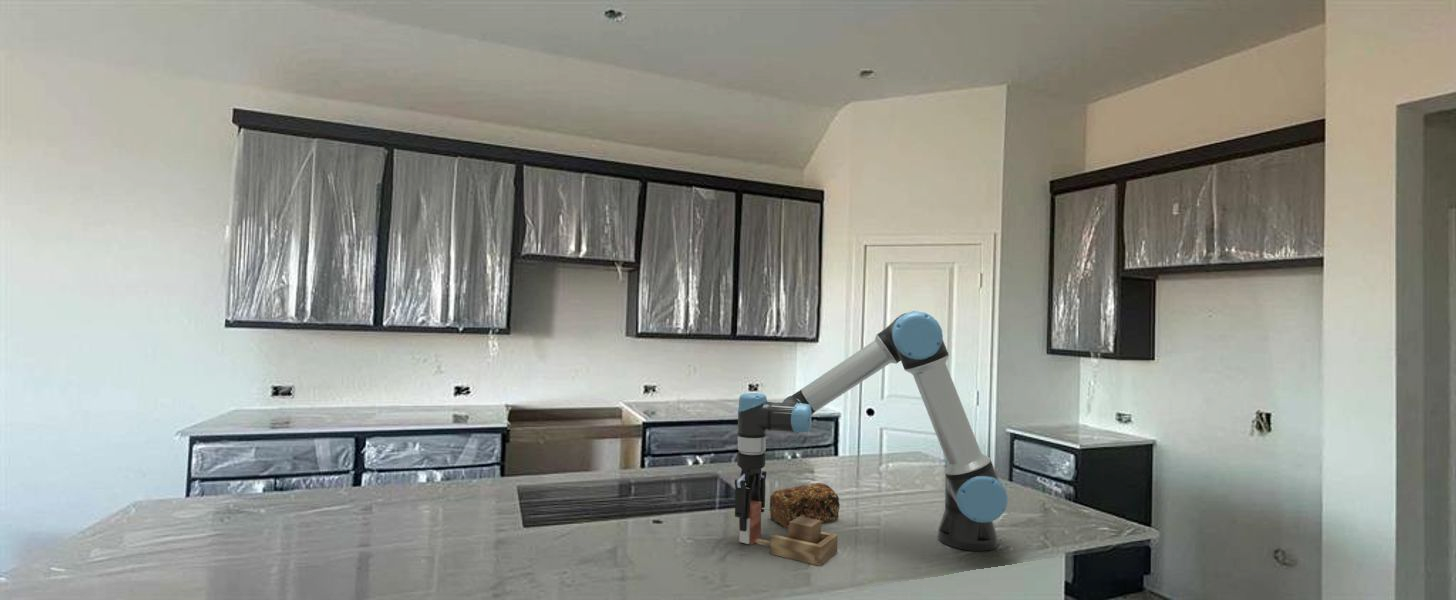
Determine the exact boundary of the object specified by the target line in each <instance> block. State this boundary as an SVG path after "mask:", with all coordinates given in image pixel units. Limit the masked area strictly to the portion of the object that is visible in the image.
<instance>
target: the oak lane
mask: <svg viewBox="0 0 1456 600" xmlns="http://www.w3.org/2000/svg"><path fill="white" fill-rule="evenodd" d="M838 536H839V535H838V534H837V533H836V534H835V533H831V532H826V531H822V530H821V542H819V543H818V544H815V543H810V542H806V541H801V540H797V539H792V538H789V525H788V526H787V528H786V536H783V535H777V534H772V535H770V541H771V547H770V555H773V556H778V557H782V558H786V559H791V560H795V561H799V562H803V563H808V564H812V565H817V566H822V565H823V564H825V563H826V562H827V561H829V560H830V559H831V558H832V557H834V555H836V554H838Z"/></svg>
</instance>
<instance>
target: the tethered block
mask: <svg viewBox="0 0 1456 600" xmlns="http://www.w3.org/2000/svg"><path fill="white" fill-rule="evenodd" d="M748 518H750V543H749V544H748V545H750V546H752V545H754V544H756V543H757V544H758V545H762V546H765V547H769V546H770V548H771V540H766V539H762V537H761V536H762V528H761V527H762V512H761V502H759V501H754V500H751V501H750V509H749V516H748ZM821 531H822V523H821V520H816V519H811V518H806V517H801V516H799V517H797V518H796V519H794V520H792V521H791V522H789V538H792V539H797V540H801V541H806V542H810V543H815V544H818V543H819V542H821ZM739 537H740V518H739V517H738V538H739Z"/></svg>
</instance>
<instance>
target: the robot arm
mask: <svg viewBox="0 0 1456 600" xmlns="http://www.w3.org/2000/svg"><path fill="white" fill-rule="evenodd" d="M949 354H950V353H949V352H948V349H947V346H946V344H945V340H944V339H943V330H942V327H941V325H940V324H939V322H938V320H937V319H936V318H934V316H932V315H931V314H929V313H927V312H924V311H918V310H916V311H915V310H914V311H913V310H912V311H909V312H905V313H903V314H902V313H901V314H900V315H899V316H898V317H896V318H895V319H894V320H893V321H892V322H891V323H890V324H889V325H887V327H885V328H884V329H883V330H881V331H880V332H878V333H877V334H876V335H875V339H874V340H873V341H872V342H870V343H868V344H867V345H866V346H864V347H863V348H861V349H859V350H858V351H856V352H855V353H854V354H852V355H851V356H849V357H847V358H845V359H844V360H843V361H842V362H840V363H839V364H837V365H836V366H835V365H834V367H832V368H831V369H829V370H828V371H826V372H825V373H824V374H822V375H820V376H819V377H818V378H816V379H814V380H813V381H811V382H810V383H809V384H807V385H805V386H804V387H803V388H801V389H800V390H798V391H796V392H795V393H793V394H792V395H789V396H788V397H786V398H785V399H783V400H782V402H776V401H775V402H773V401H768V400H767V395H766V394H764V393H758V392H747V393H743V394H741V395H740V396H739V398H738V410H737V439H736V440H737V450H738V452H737V454H736V455H737V457H736V458H737V459H736V461H737V463H736V465H737V467H738V468H740V469H741V470H740V477H739V478H738V479H734V488H735V491H734V493H735V495H734V497H735V498H734V505H735V506H734V517H735V518H738V519H739V518H740V537H739V536H738V542H739V543H743V544H747V545H750V544H749V543H750V518H748V516H749V509H750V501H751V500H754V501H759V502H761V514H762V513H763V514H764V512H765V509H764V508H765V506H766V479H767V471H765V470H762V469H763V468H765V467H766V453H765V451H766V449H767V448H766V446H767V442H766V441H767V440H766V439H767V437H766V436H767V432H766V431H770V432H771V431H773V432H775V431H776V432H789V433H795V434H799V433H809V432H810V431H811V430H812V429H811V427H812V415H813V414H814V413H816V412H817V411H819V410H821V409H822V408H824V407H825V406H827V405H828V404H829V403H831V402H833V401H834V400H836V399H838V398H839V397H840V396H842V395H843V394H845V393H847V392H848V391H850V390H851V389H853V388H855V387H856V386H857V385H859V384H860V383H862V382H863V381H865V380H867V379H868V378H870V377H871V376H873V375H875V374H876V373H877V372H879V371H880V370H883V369H884V368H886V366H888V365H890V364H899V363H900V362H901V365H902V366H903V370H904V371H905V372H908V373H910V374H911V375H912V376H913V379H914V382H915V384H916V386H917V389H918V392H919V395H920V397H921V399H922V402H923V404H924V406H925V409H926V411H927V415H928V418H929V419H930V423H931V425H932V427H933V430H934V433H935V434H936V438H937V440H938V443H939V445H940V447H941V451H942V453H943V455H944V458H945V464H944V471H943V472H944V475H945V477H944V478H945V483H944V486H945V487H944V488H945V491H944V511H943V515H942V517H941V520H940V523H939V526H938V529H937V538H938V540H939V541H940V542H941V543H943V544H944V545H945V546H946V545H947V546H949V547H951V548H955V549H959V550H965V551H970V552H971V551H973V552H985V551H986V552H987V551H992V550H995V549H997V547H998V544H999V543H998V541H999V538H998V534H997V531H996V527H995V524H994V521H995V520H997V519H999V518H1000V517H1002V515H1003V514H1004V513H1005V511H1006V510H1007V507H1008V502H1009V500H1008V493H1007V490H1006V487H1005V486H1004V485H1003V484H1002V482H1001V481H1000V479H999V477H998V475H997V472H996V469H995V467H994V465H993V463H992V459H991V457H990V456H988V455H985V454H983V453H982V452H981V449H980V447H979V443H978V441H977V438H976V435H975V434H974V432H973V429H972V426H971V425H970V421H969V419H968V417H967V414H966V411H965V409H964V406H963V403H962V401H961V399H960V396H959V393H958V391H957V389H956V387H955V384H954V381H953V378H952V377H951V374H950V371H949V369H948V366H947V360H948V358H949V356H950V355H949Z"/></svg>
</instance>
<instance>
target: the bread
mask: <svg viewBox="0 0 1456 600" xmlns="http://www.w3.org/2000/svg"><path fill="white" fill-rule="evenodd" d="M840 505H841V504H840V497H839V496H838V494H837V493H836V492H835V490H833V488H831V486H829V485H827V484H825V483H821V482H816V483H810V484H809V483H808V484H806V485H805V484H801V485H798V486H793V487H788V488H784V489H783V488H782V489H778V490H774V491H773V492H772V493H771V494H770V497H769V513H770V518H771V520H772V519H773V522H775V521H776V522H777V523H778V524H779V525H780V526H781V525H782V527H783V526H784V527H783V528H785V527H786V528H785V529H787V526H788V525H789V522H791V521H792V520H794V519H796V518H797V517H799V516H801V517H806V518H811V519H816V520H821V524H826V522H828V523H832V522H833V521H837V520H838V519H839V510H840ZM776 522H775V523H776Z"/></svg>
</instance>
